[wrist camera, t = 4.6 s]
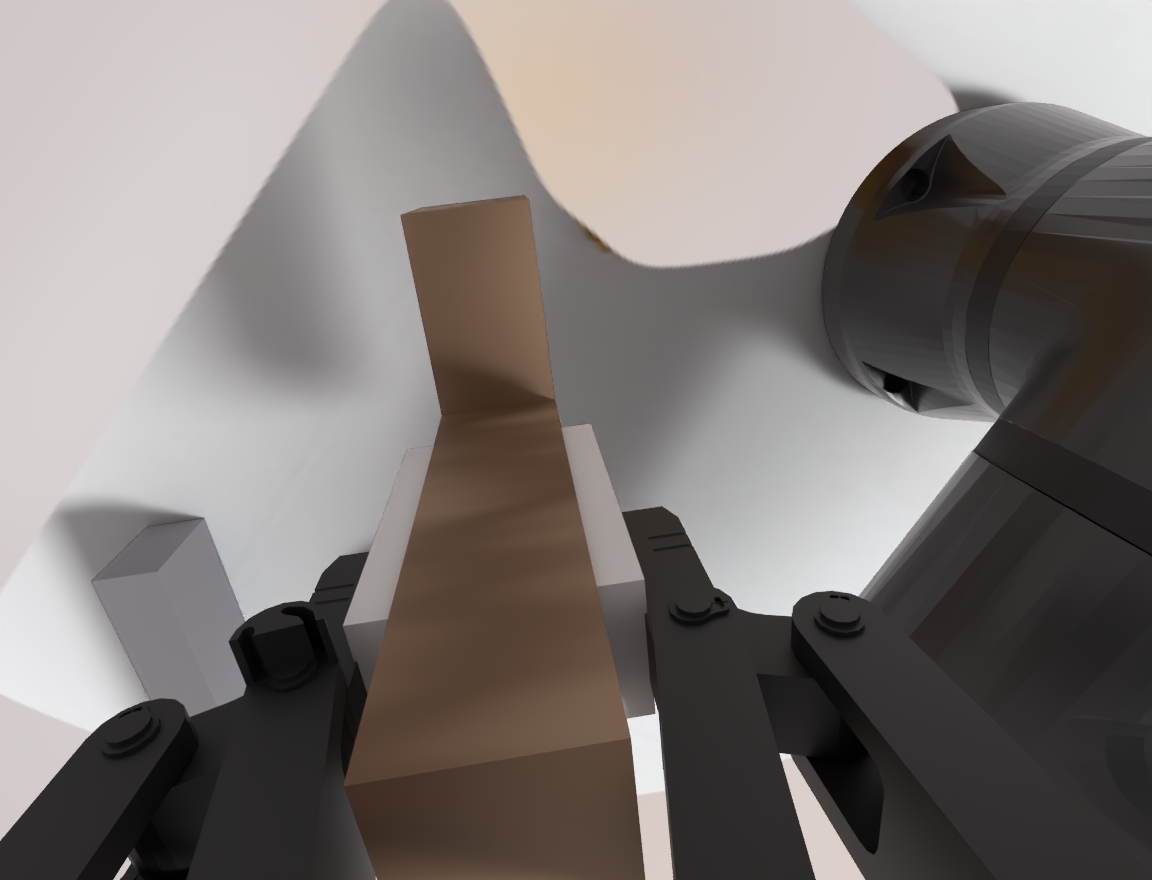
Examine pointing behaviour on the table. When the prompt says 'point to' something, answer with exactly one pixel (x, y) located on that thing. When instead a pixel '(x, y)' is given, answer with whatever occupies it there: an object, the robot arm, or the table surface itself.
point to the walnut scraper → (493, 604)
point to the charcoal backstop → (175, 615)
